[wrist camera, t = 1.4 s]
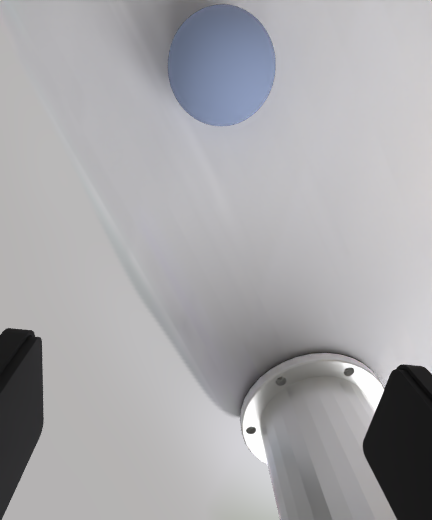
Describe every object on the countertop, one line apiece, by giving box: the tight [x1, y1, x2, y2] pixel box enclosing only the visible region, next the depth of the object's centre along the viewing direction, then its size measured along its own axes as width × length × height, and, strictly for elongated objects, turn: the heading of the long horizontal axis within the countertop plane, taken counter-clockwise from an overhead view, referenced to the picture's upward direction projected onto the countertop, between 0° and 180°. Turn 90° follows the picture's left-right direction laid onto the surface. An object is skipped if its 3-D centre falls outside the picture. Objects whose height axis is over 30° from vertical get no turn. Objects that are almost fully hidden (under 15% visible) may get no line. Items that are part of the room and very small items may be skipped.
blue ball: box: [168, 4, 275, 126], centre depth 19 cm, size 6×6×6 cm
